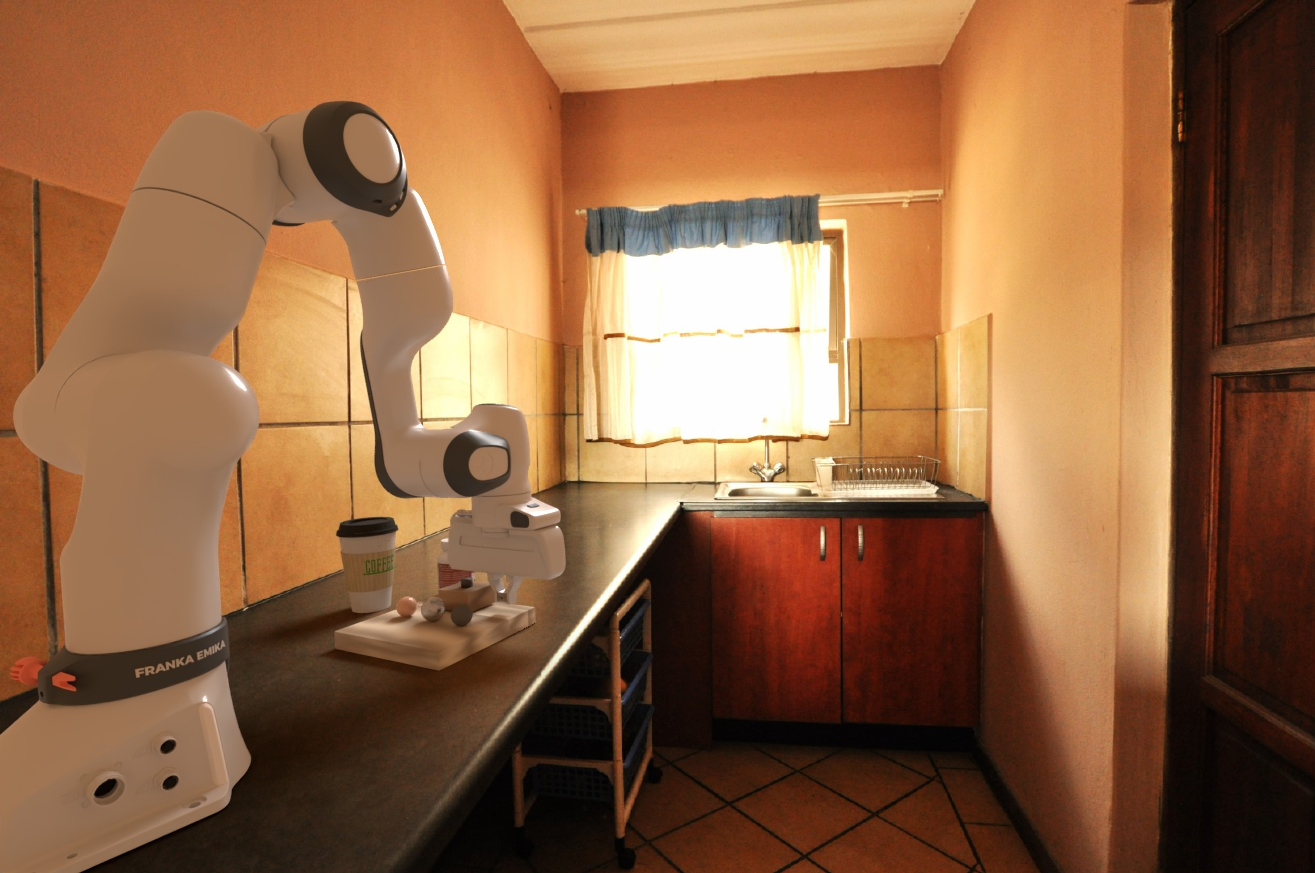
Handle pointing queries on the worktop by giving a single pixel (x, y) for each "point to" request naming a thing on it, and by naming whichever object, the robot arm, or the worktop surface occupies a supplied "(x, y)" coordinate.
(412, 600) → the terracotta ball
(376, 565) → the coffee cup
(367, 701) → the worktop surface
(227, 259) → the robot arm
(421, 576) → the worktop surface
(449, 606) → the cover
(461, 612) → the black rubber ball
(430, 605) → the steel ball
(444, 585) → the pill bottle
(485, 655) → the worktop surface
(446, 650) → the board
